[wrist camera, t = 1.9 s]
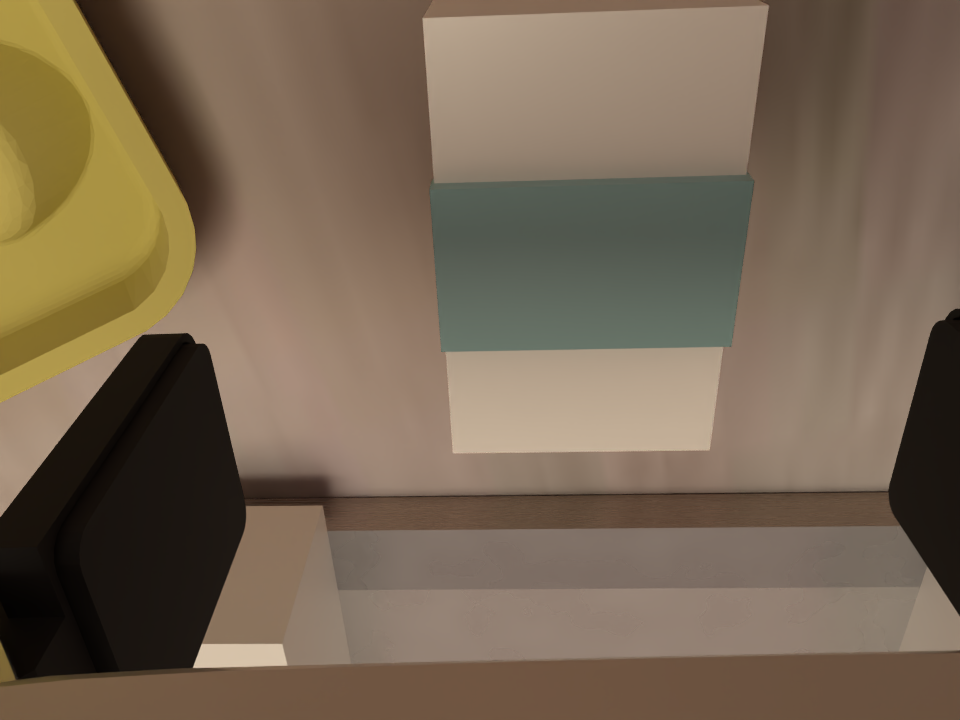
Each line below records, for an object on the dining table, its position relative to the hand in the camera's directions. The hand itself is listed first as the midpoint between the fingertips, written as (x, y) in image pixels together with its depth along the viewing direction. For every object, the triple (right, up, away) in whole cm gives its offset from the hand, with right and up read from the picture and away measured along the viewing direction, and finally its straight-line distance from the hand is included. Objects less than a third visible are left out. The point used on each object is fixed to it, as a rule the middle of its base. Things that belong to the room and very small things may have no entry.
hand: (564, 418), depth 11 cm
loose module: (+1, +6, +9) cm, 11 cm away
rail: (+4, -9, +18) cm, 20 cm away
